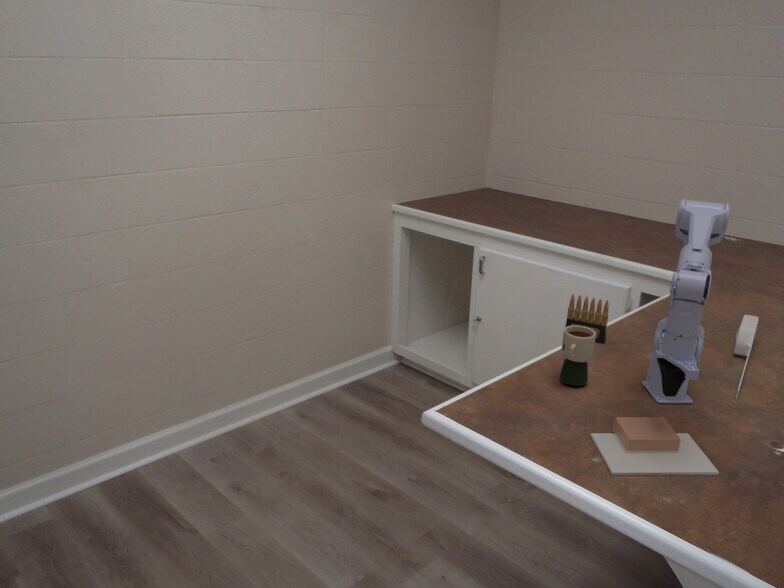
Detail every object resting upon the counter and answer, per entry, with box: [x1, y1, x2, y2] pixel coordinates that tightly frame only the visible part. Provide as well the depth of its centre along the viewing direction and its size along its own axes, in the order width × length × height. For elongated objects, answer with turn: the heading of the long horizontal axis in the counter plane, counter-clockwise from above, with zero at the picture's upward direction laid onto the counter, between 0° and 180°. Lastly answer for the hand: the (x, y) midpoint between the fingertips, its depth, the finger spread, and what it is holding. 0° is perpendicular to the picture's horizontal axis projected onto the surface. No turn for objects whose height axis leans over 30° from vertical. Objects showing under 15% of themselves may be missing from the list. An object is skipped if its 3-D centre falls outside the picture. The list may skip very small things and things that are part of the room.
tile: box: [612, 416, 681, 453], centre depth 133 cm, size 3×10×8 cm
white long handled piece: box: [734, 314, 760, 401], centre depth 165 cm, size 38×8×4 cm
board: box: [589, 432, 720, 476], centre depth 130 cm, size 13×20×1 cm, turn 92°
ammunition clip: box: [564, 293, 610, 345], centre depth 177 cm, size 11×2×12 cm, turn 63°
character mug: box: [559, 325, 596, 387], centre depth 154 cm, size 11×7×13 cm, turn 148°
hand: (669, 394), depth 131 cm, fingers closed
